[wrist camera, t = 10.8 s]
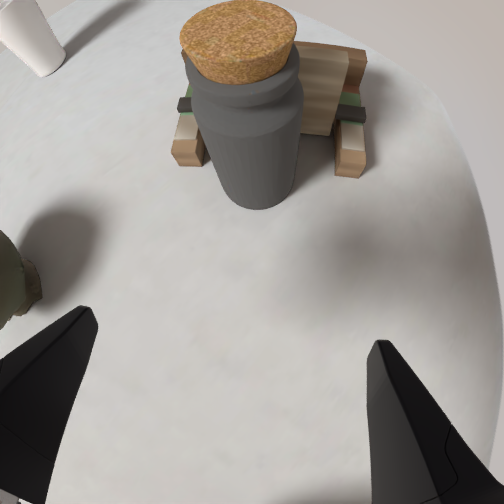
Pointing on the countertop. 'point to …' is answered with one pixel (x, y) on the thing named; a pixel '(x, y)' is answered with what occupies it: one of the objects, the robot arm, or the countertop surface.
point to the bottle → (247, 96)
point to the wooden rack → (345, 132)
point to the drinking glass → (30, 36)
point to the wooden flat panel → (317, 90)
